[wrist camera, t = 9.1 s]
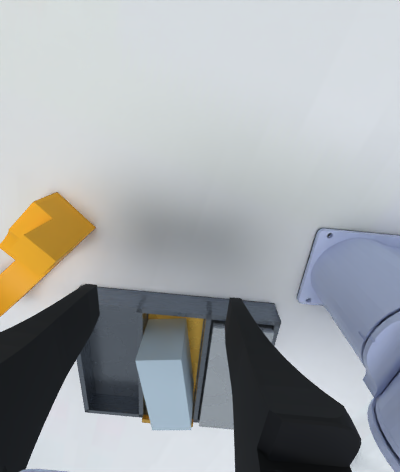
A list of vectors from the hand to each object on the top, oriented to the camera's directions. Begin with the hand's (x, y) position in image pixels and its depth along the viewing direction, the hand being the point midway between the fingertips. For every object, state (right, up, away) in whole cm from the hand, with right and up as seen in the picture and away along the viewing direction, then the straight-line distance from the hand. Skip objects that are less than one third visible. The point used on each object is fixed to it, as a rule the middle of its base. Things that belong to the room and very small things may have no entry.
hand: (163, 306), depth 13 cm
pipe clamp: (-14, +3, +11) cm, 17 cm away
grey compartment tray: (-1, -10, +15) cm, 18 cm away
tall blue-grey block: (-1, -9, +14) cm, 17 cm away
